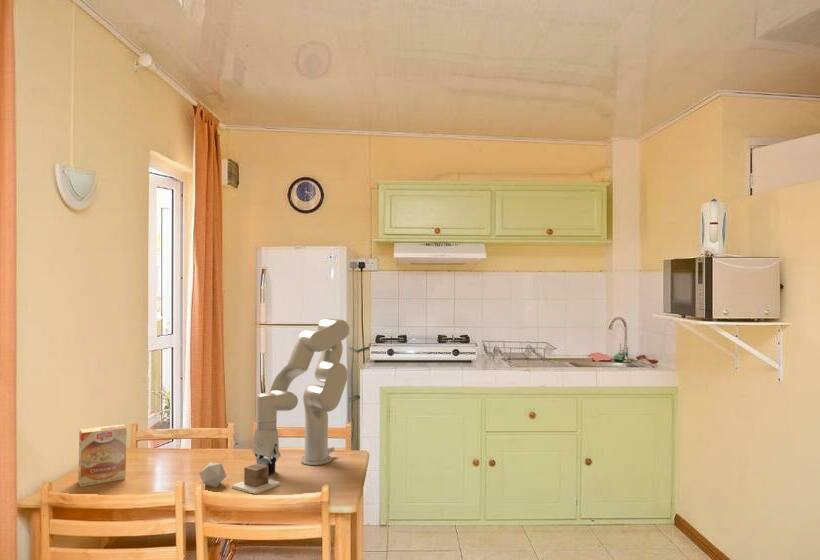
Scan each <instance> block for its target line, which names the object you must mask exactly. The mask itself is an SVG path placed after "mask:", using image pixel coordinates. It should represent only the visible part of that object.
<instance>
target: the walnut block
mask: <svg viewBox="0 0 820 560" xmlns="http://www.w3.org/2000/svg"><path fill="white" fill-rule="evenodd" d="M243 475H244V477H243V479H244V480H243V481H244V484H245V485H248V486H252V487H255V488H256V487H259V486H261V485H264V484H267V483H268V479H269V475H270V474H269V466H265V465H261V464H257V463H255V464H250V465H248V466H246V467H244V472H243Z"/></svg>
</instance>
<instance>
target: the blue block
mask: <svg viewBox="0 0 820 560" xmlns="http://www.w3.org/2000/svg"><path fill="white" fill-rule="evenodd" d="M271 459H272V457H271ZM268 463H269V460H268V457H267V456H264V458H262V459H259V460H256V464H261V465H265V466H268Z"/></svg>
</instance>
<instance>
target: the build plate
mask: <svg viewBox="0 0 820 560" xmlns="http://www.w3.org/2000/svg"><path fill="white" fill-rule="evenodd" d="M278 485H279V486H281V482H280V481H277V480H273V479H271V478H270V479H269V478H268V483H267V484H264V485H261V486H259V487H256V488H255V487H252V486H248V485H245V484H244V480H242V481H240V482H237V483H234V484H232V485H231V488H232V489H235V490H237V491H241V490H242V492H244V491H246V492H245V493H247V492H249V494H251V493H253V494H252V495H254V494H255V495H258V494H260V493H263V492H265V491H264V490H266V491H268V490H270V489H269V488H271V489H273V488H276V487H279V486H278ZM275 486H276V487H275ZM272 487H273V488H272ZM267 489H268V490H267Z"/></svg>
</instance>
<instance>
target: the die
mask: <svg viewBox="0 0 820 560" xmlns="http://www.w3.org/2000/svg"><path fill="white" fill-rule="evenodd" d="M199 476H200V478H201V480H202V483H203V485H204V484H205V485H207V486H206V487H212V488H217V487H218V486H219V485H221V483H222V482H224V480H225V479H226V478H227V474H226V472H225V469H224V466H223V464H222V463H220V462H219V463H218V462H211V461H210V462H208V463H207V465H206V466H205V467H204V468H203V469H202V470H201V471H200V472H199Z"/></svg>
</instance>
